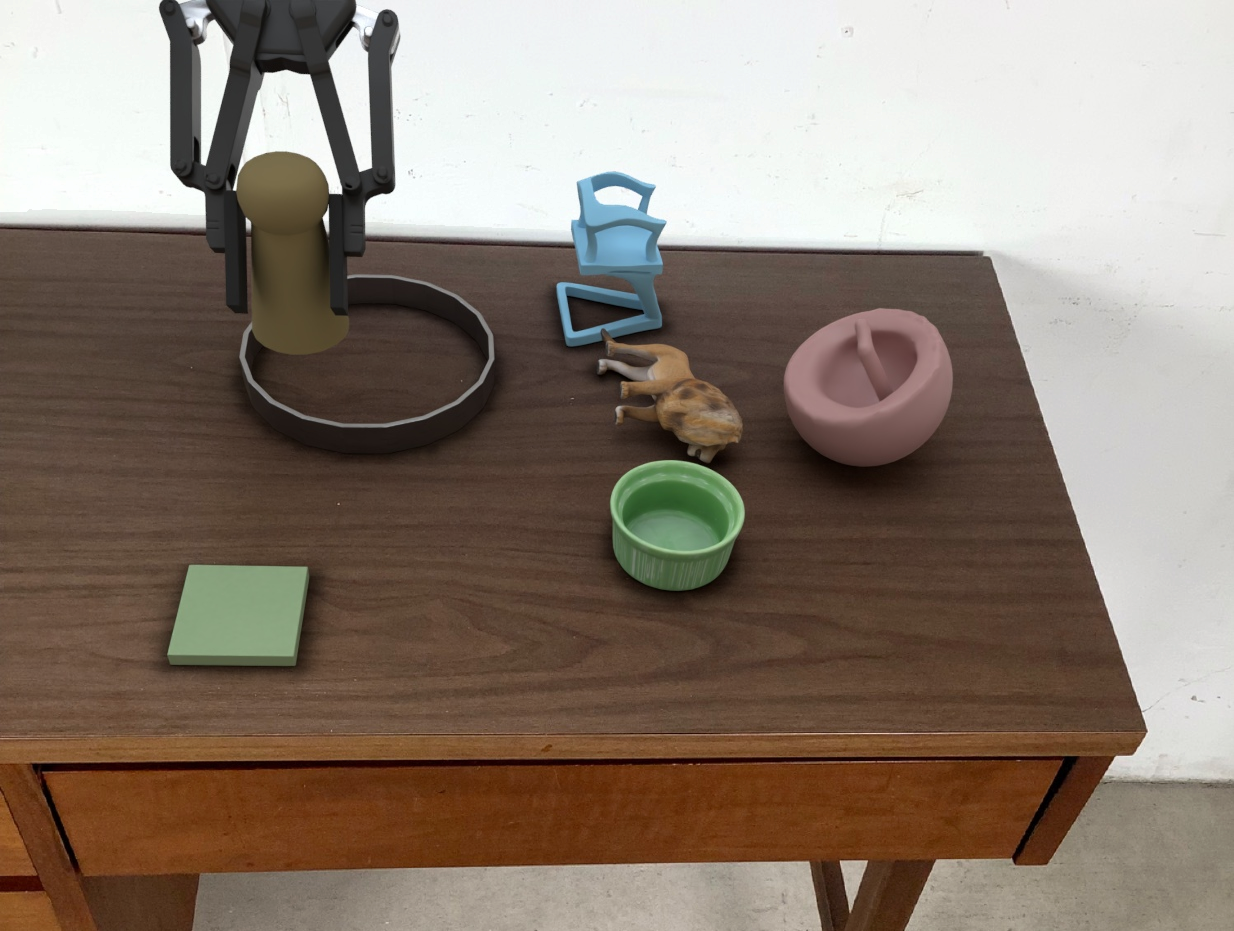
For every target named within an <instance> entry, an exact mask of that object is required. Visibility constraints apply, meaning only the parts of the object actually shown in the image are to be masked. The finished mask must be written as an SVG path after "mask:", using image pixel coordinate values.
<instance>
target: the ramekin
mask: <svg viewBox="0 0 1234 931" xmlns="http://www.w3.org/2000/svg"><path fill="white" fill-rule="evenodd" d="M610 495H611V496H610V499H609V500H610V501H609V508H610V509H609V510H610V515H611V519H612V548H613V552H614V555H615V558H616V560H617V562H618V563H619V565H620V566H621V568H622V569H623V570H624V571H625V572H626V573H627V574H628V575H629V576H630V577H632V578H633V579H635V580H637V581H638V582H640V583H642V584H644V585H646V586H648V587H652V588H655V589H659V590H664V591H671V592H672V591H673V592H675V591H677V592H679V591H680V592H681V591H689V590H694V589H698V588H701V587H704V586H706V585H707V584H709V583H711V582H713V581H714V580H716V578H718V577H719V576H720V575H721V574H722V572H723V570H724V569H725V568H726V566H727V564H728V561H729V559H730V556H731V554H732V550H733V548H734V546H735V545H734V544H735V542H736V539H737V538H738V536H739V535H740V533H741V530H742V528H743V526H744V523H745V520H746V519H745V518H746V517H745V516H746V514H745V513H746V510H745V504H744V501H743V498H742V496H741V495H740V493H739V491H738V490H737V489H736V487H735V486H734V485H733V483H731V482H730V481H729V480H728V479H727V478H725V477H724V476H722V475H721V474H719V473H718V472H717V471H715V470H712V469H710V468H709V467H707V466H704V465H700V464H698V463H694V462H691V461H683V460H670V459H669V460H668V459H667V460H656V461H650V462H646V463H644V464H641V465H638V466H636V467H634V468H632V469H630V470H629V471H627V472H626V473H624V474H623V475H622V476H621V477H620V478H619V479H618V481H617V482H616V484H615V485H614V487H613V489H612V492H611V494H610Z"/></svg>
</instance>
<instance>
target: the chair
mask: <svg viewBox="0 0 1234 931" xmlns="http://www.w3.org/2000/svg"><path fill="white" fill-rule="evenodd" d="M612 187H619V188H624V189H627V190H630V191H632V192H634V193H635V194H638V195H639V196H641V199H640V202H639V204H638V208H634V207H632V206H629V205H625V204H603V203H602V202H601V203H600V202H599V201H598V200H597V197H596V195H595V193H597V192H598V191H601V190H603V189H606V188H612ZM656 187H657V185H656V184H653V183H649V182H645V181H641V180H640V179H637V178H635V177H634V176H632V175H629V174H626V173H624V172H620V171H615V170H614V171H605V172H601V173H599V174H595V175H592V176H588V177H585V178H583V179H581V180H578V181H576V189H577V196H578V202H579V211H580V212H579V218H578V219H571V221H570V222H571V223H570V232H571V236H572V241H573V244H574V250H575V254H576V259H577V266H578V270H579V274H580V275H579V276H600V275H603V276H607V277H612V278H613V277H614V278H618V279H621V280H623V281H626V282H627V283H629V284H630V285H631V287H632V288H633V290H634V291H635V293H632V292H631V293H630V292H626V291H620V290H614V289H609V288H605V287H604V288H603V287H597V286H592V285H586V284H581V283H574V282H565V281H563V282H558V283H557V284H556V298H557V303H558V307H559V308H558V309H559V314H560V319H561V325H562V329H563V334H564V341H565V345H566V346H568V347H578V346H584V345H588V344H592V343H597V342H602V341H603V340H602V336H601V329H602V328H604V329H606V331H607V332H608V333H609V334H610V336H611V337H612V339H613V338H617V337H622V336H626V335H630V334H635V333H640V332H644V331H649V330H651V331H652V330H657V329H661V328H662V326H663V316H662V312H661V309H660V306H659V303H658V297H657V294H656V291H655V286H654V280H655V277H657V275H663V269H664V263H663V259H662V256H661V253H660V249H659V246H658V244H657V243H658V240H659V238H660V236H661V234H662V232H663V231H664V229H665V227H666V225H667V223H668V221H667V220H665V219H660V218H657V217H654V216H651V215H649V214H648V209H649V205H650V200H651V198H652V195H653V194H654V192H655V190H656ZM567 296H568V297H573V298H578V299H584V300H589V301H593V302H599V303H602V304H603V303H604V304H607V305H612V306H617V307H623V308H629V309H635V310H641V311H643V313H644V314H639V315H635V316H630V317H627V318H624V319H619V320H616V321H611V322H609V323H605V324H601V325H597V326H593V327H590V328H585V329H583V330H578V331H574V330H573V326H572V320H571V314H570V309H569V304H568V297H567Z"/></svg>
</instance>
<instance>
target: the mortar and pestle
mask: <svg viewBox="0 0 1234 931" xmlns="http://www.w3.org/2000/svg"><path fill="white" fill-rule="evenodd" d="M953 376H954V374H953V365H952V360H951V357H950V352H949V350H948V348H947V345H946V343H945V341H944V339H943V337H942V336H941V334H940V331H939V329H938V328H937V326H936V325H934V324H933V323H931V322H930V321H929V319H927V317H926V316H924V315H919V314H918V313H916V312H914V311H911V310H904V309H900V308H885V307H880V308H875V309H872V310H865V311H860V312H856V313H853V314H850V315H847V316H845V317H842V318H839V319H837V320H835V321H833V322H831V323H829V324H827V325H825V326H823V327H822V328H821V327H820V329H818V330H817V331H815V332H814V333H813V334H812V335H811V336H809V337H808V338H807V339H806V340H804V342H802V343H801V344H800V345H799V346H798V348H797V349H796V350H795V351H794V353H793V354H792V356H791V357H790V359H789V361H788V362H787V365H786V368H785V371H784V374H783V383H782V384H783V397H784V403H785V408H786V410H787V414H788V415H789V418H790V421H791V423H792V424H793V427H794V428H795V430H796V431H797V433H798V434H799V436H800V437H801V438H802V439H803V441H804V442H806V444H808V446H810V447H811V448H812V449H813V450H814V451H816V452H817V453H819V454H820V455H822V456H823V457H825V458H827V459H829V460H831V461H834V462H837V463H839V464H843V465H847V466H853V467H861V468H862V467H878V466H883V465H887V464H890V463H891V464H892V463H894V462H896V461H899V460H902V459H903V458H905V457H908V456H909V455H911V454H913V453H914V452H915V451H916V450H917V449H919V448H921V447H922V446H923V445H924V444H925V443H926V442H927V441H928V440H929V439H930V438H931V436H933V434H934V433H935V432H936V431H937V429H938V428H939V427H940V425H941V423H942V421H943V420H944V418H945V416H946V413H947V411H948V408H949V405H950V402H951V397H952V393H953V384H954V383H953V382H954V377H953Z"/></svg>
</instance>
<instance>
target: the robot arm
mask: <svg viewBox="0 0 1234 931" xmlns="http://www.w3.org/2000/svg"><path fill="white" fill-rule="evenodd" d="M158 12H159V14H160V17H161V21H162V23H163V26H164V29H165V31H166V34H167V37H168V40H169V157H170V158H169V165H170V170H171V172H172V173H173V175H175V176H176V178H177V179H178V181H180V183H181V184H182V185H183V186H184V187H186V188H190V189H195V190H197V191H200V192H202V193H203V194H204V206H205V240H206V243H207V244H208V247H209V248H210V250H211V251H212V252H213V253H214V254H224V275H225V306H226V307H227V308H228V309H229V310H231V312H233V313H234V314H246V315H247V314H249V301H248V300H249V298H248V297H249V296H248V293H249V292H248V252H247V251H248V247H247V246H248V245H247V218H246V217H245V215H244V213H243V211H242V209H241V207H240V205H239V202H238V199H237V194H236V189H235V190H234V188H235V184H236V181H237V177H238V172H239V168H240V164H241V160H242V158H243V157H242V156H243V152H244V148H245V145H246V141H247V136H248V133H249V129H250V125H251V120H252V117H253V113H254V108H255V105H256V100H257V96H258V93H259V91H260V90H261V88H262V85H263V81H264V77H265V73H266V74H267V73H268V74H273V73H280V72H283V71H289V72H292V73H295V74H298V75H308V76H310V80H311V84H312V86H313V91H314V95H315V98H316V101H317V104H318V109H319V111H320V116H321V118H322V122H323V126H324V129H325V132H326V137H327V140H328V144H329V147H330V151H331V154H332V158H333V161H334V162H333V163H334V165H335V168H336V173H337V176H338V180H339V184H340V186H341V193H329V199H328V201H329V204H328V240H329V261H330V308H331V309H332V311H333V313H334V314H335V316H348V317H349V305H348V282H347V276H348V258H363V256H364V254H365V251H366V248H367V247H366V245H367V244H366V243H367V242H366V206H367V204H368V202H369V200H370V199H372V198H374V197H377V196H380V195H390V194H391V193H393V192H394V191H395V189H396V185H397V184H396V159H395V157H396V156H395V133H394V132H395V129H394V104H393V102H394V101H393V100H394V99H393V77H392V76H393V75H392V66H393V63H394V60H395V57H396V54H397V51H398V47H399V45H400V42H401V31H400V23H399V16H398V15H397V13H396V12H395V11H394V10H392V9H388V8H387V9H382V10H381V11H380V12H377V11H375V10H372V9H370V8H367V7H364V6H363V5H360V4H357V0H188V1H183V2H181V3H179V1H177V0H161V1H160V3H159V5H158ZM213 21H215V22H216V24H217V25H218V27H219V28H220V29H221V31H222V32H223V33H224V35H225V36H226V37H227V39H228V40H229V42H230V43H231V44H232V49H231V53H230V57H229V70H228V75H227V79H226V84H225V87H224V91H223V94H222V98H221V102H220V103H221V104H220V107H219V110H218V115H217V119H216V122H215V127H214V131H213V134H212V138H211V143H210V146H209V151H208V154H207V158H206V163H205V165H204V164H202V60H201V59H202V58H201V53H200V48H199V45H202V44H204V42H206V40H207V38H208V30H207V29H208V25H209V24H210V23H211V22H213ZM353 28H355V29H356V30H357V31H358V32H359V42H360V46H361V48H362V50H364V51H365V52H367V72H368V98H369V99H368V100H369V101H368V102H369V124H370V128H369V129H370V147H371V148H370V151H371V153H370V154H371V167H370V168H367V169H363V170H361V171H360V169H359V165H358V161H357V158H356V155H355V151H354V147H353V144H352V140H351V137H350V134H349V130H348V126H347V123H346V118H345V115H344V112H343V108H342V104H341V101H340V97H339V94H338V90H337V87H336V83H335V79H334V75H333V72H332V68H331V65H330V59H331V58H332V57H333V56H334V54H335V53H336V51H337V50H338V48H339V47H340V46H341V45H342V43H343V42H344V40H345V39H346V38H347V36H348V35H349V33H350V32H351V30H352V29H353Z"/></svg>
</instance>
